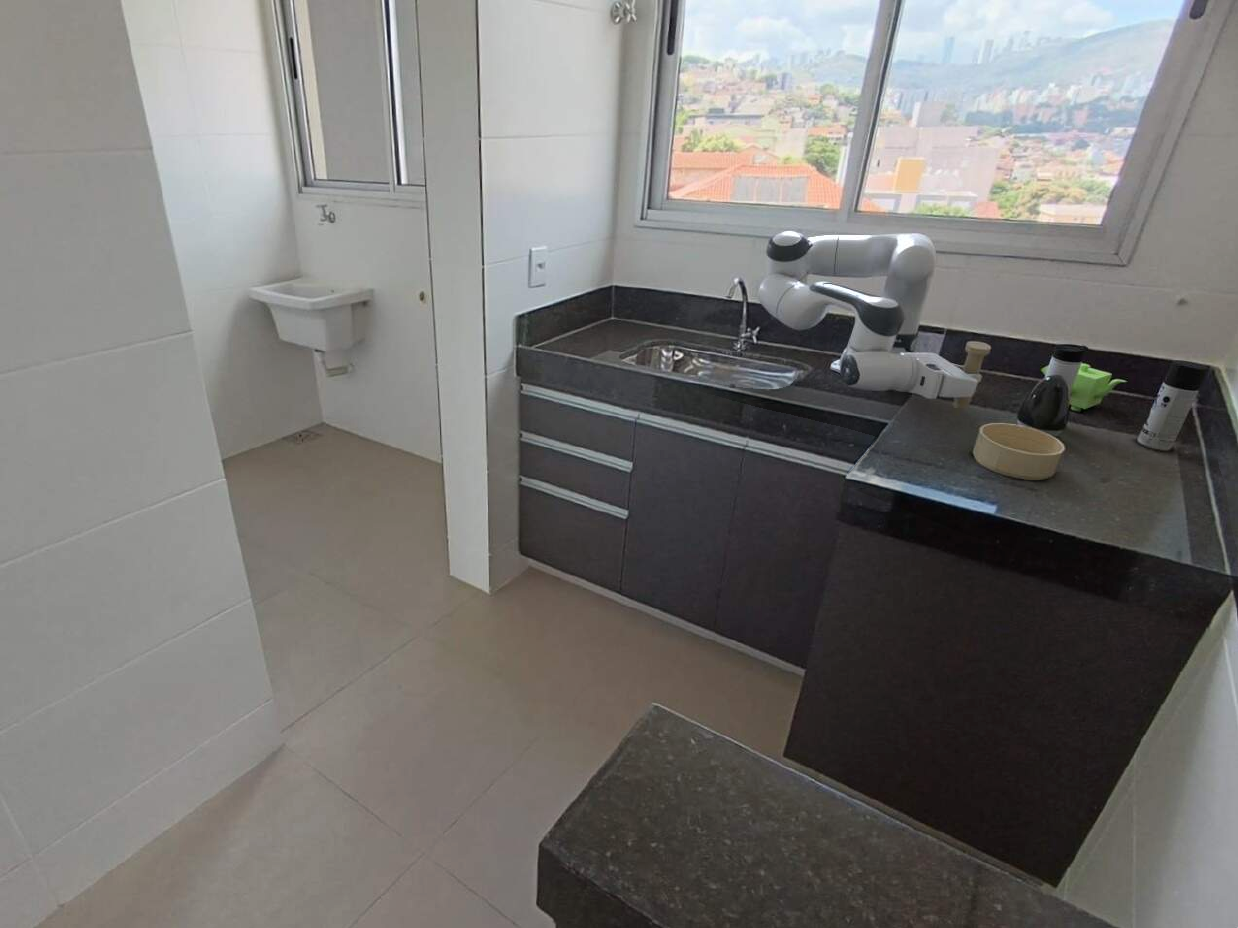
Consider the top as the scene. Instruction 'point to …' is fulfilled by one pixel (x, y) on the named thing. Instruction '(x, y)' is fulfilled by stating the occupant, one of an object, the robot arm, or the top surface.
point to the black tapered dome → (1047, 406)
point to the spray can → (1172, 404)
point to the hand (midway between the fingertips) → (974, 374)
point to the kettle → (1089, 387)
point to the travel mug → (1066, 362)
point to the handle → (972, 367)
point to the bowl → (1018, 451)
